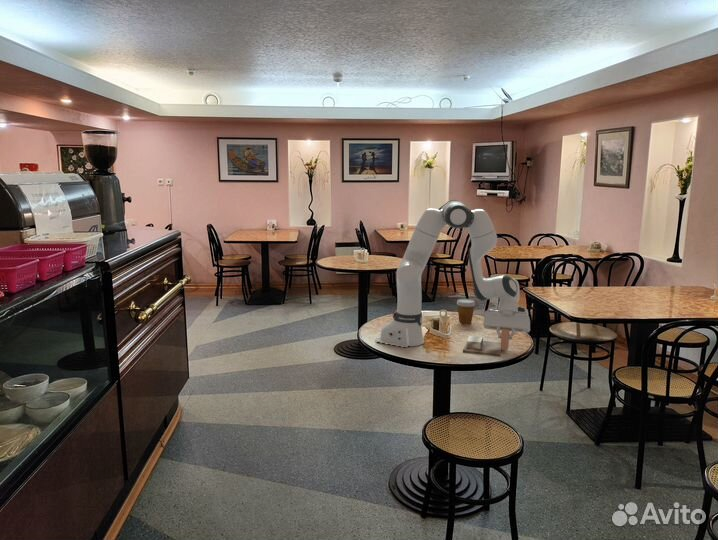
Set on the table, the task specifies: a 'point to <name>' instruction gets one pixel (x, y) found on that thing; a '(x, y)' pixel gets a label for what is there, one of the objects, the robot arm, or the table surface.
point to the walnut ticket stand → (482, 346)
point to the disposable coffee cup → (465, 310)
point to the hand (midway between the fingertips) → (505, 338)
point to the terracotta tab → (504, 339)
